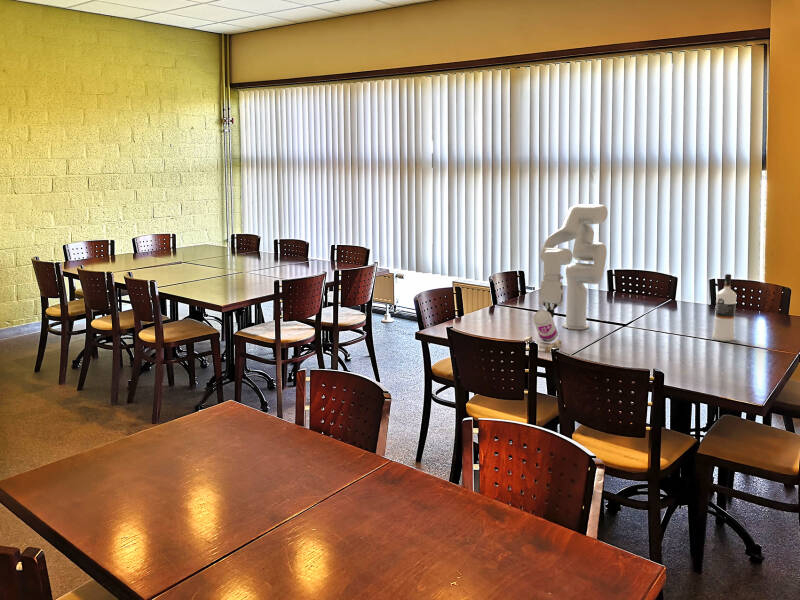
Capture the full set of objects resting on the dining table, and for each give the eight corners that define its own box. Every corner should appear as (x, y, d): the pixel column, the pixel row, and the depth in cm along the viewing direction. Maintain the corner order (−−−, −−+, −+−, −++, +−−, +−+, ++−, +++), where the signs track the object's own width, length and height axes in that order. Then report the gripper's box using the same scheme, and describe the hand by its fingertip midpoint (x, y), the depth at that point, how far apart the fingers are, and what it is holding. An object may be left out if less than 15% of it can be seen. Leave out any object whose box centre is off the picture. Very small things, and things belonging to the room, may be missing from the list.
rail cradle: (528, 341, 333) (528, 335, 332) (561, 345, 324) (561, 340, 324) (515, 347, 321) (515, 342, 321) (548, 352, 313) (548, 347, 312)
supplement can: (558, 341, 328) (551, 322, 317) (540, 344, 330) (532, 325, 319) (557, 326, 333) (550, 307, 322) (539, 329, 335) (531, 310, 324)
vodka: (738, 340, 331) (744, 274, 325) (723, 342, 327) (728, 276, 322) (722, 335, 339) (727, 272, 333) (707, 338, 336) (712, 273, 330)
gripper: (570, 278, 326) (569, 318, 329) (539, 275, 334) (538, 314, 338) (564, 280, 320) (562, 321, 323) (532, 277, 328) (531, 317, 332)
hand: (550, 317), depth 331 cm, fingers closed
